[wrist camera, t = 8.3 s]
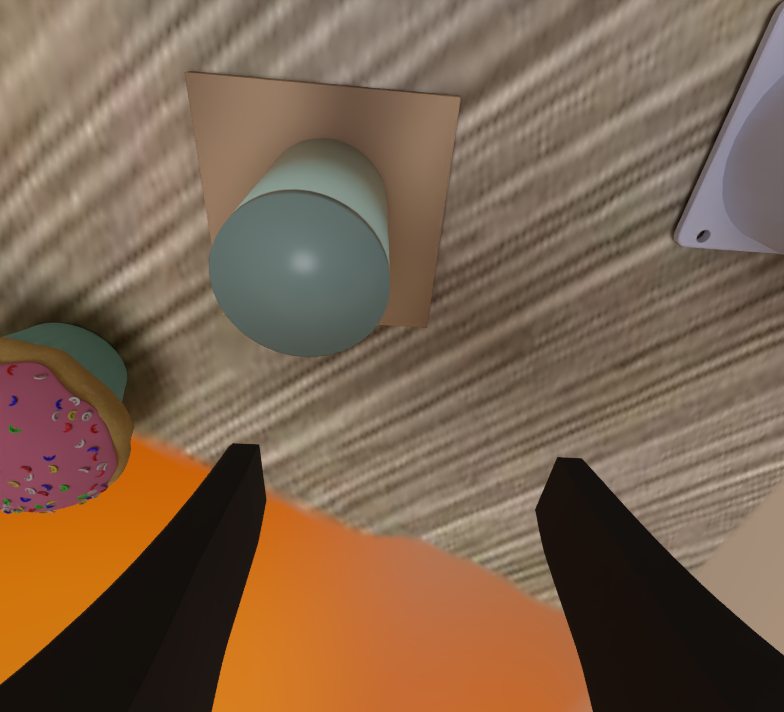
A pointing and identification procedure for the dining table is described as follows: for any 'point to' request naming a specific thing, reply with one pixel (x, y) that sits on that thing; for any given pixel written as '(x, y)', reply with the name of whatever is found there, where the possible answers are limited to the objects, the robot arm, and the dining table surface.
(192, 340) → the dining table surface
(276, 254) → the cylinder
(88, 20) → the dining table surface
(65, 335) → the cupcake
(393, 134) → the coaster
